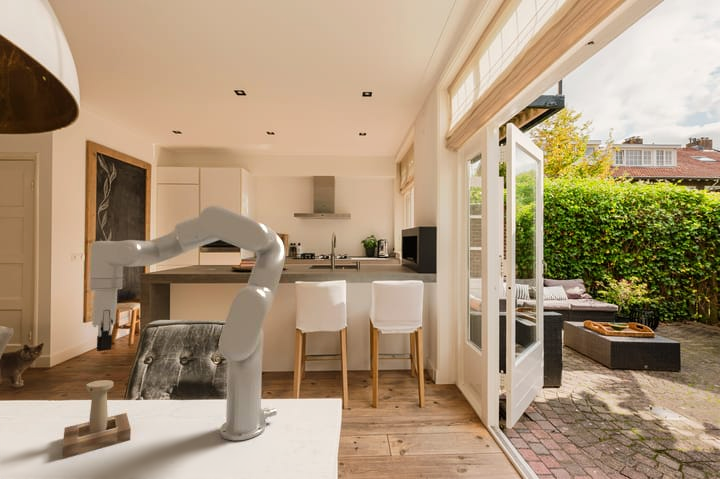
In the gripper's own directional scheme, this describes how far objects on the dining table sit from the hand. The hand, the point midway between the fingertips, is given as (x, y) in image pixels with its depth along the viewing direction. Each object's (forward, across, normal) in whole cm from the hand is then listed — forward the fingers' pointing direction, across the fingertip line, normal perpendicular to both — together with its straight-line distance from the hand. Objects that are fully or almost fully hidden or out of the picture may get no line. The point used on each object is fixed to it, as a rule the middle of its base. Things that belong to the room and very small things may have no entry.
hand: (104, 349), depth 95 cm
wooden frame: (+24, +1, -1) cm, 24 cm away
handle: (+24, +1, -1) cm, 24 cm away
